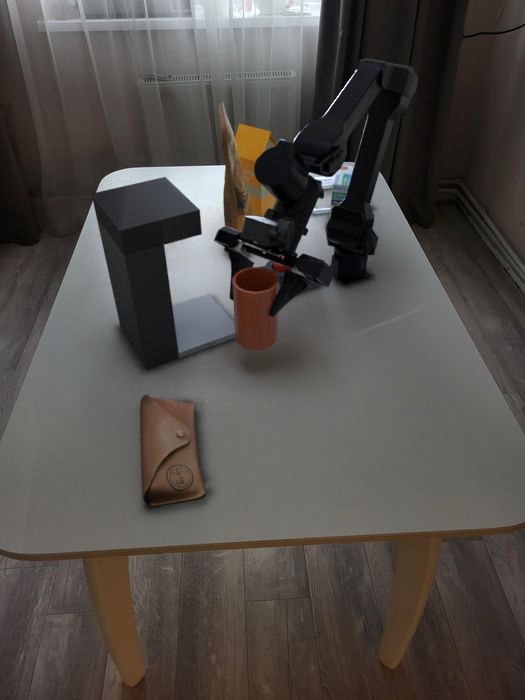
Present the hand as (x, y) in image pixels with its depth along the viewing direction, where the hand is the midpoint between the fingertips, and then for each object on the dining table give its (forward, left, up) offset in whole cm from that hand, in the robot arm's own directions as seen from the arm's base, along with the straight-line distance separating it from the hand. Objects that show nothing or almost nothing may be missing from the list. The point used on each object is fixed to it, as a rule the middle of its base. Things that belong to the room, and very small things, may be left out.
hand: (250, 307), depth 85 cm
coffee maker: (+7, -14, -12) cm, 20 cm away
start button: (-16, -20, -9) cm, 27 cm away
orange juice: (-25, -50, -13) cm, 57 cm away
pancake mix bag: (-15, -39, -13) cm, 43 cm away
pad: (-16, -20, -12) cm, 28 cm away
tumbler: (-1, -1, -7) cm, 7 cm away
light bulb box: (-42, -37, -12) cm, 57 cm away
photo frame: (-46, -49, -12) cm, 68 cm away
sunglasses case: (+18, +10, -13) cm, 24 cm away
